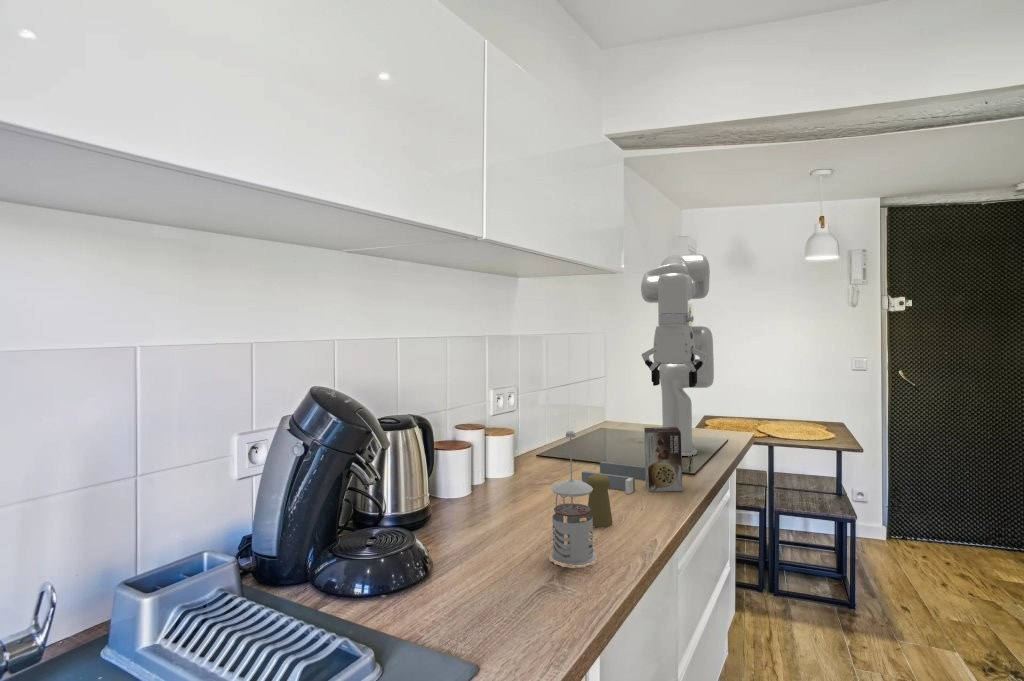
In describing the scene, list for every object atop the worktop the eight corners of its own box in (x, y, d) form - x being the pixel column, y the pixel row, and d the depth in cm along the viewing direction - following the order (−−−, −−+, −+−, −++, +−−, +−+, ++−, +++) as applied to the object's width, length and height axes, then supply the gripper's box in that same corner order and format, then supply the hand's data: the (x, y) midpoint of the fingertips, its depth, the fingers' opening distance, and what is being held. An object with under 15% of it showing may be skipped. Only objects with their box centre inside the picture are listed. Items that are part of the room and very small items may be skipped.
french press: (558, 571, 111) (555, 437, 110) (538, 548, 123) (535, 426, 122) (607, 564, 114) (604, 433, 113) (582, 542, 125) (580, 423, 124)
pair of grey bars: (604, 471, 181) (604, 459, 181) (653, 477, 173) (653, 465, 173) (578, 486, 166) (577, 474, 166) (629, 494, 158) (629, 480, 158)
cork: (616, 520, 138) (615, 473, 137) (606, 529, 133) (605, 479, 132) (592, 517, 141) (591, 470, 140) (581, 525, 136) (580, 476, 135)
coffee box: (678, 485, 165) (677, 426, 165) (683, 492, 159) (682, 431, 158) (644, 485, 166) (643, 426, 166) (647, 491, 160) (646, 431, 159)
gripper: (710, 319, 156) (711, 385, 157) (647, 321, 166) (648, 383, 166) (701, 320, 150) (702, 388, 150) (636, 321, 160) (637, 386, 160)
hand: (674, 385), depth 158 cm, fingers open, 9 cm apart
